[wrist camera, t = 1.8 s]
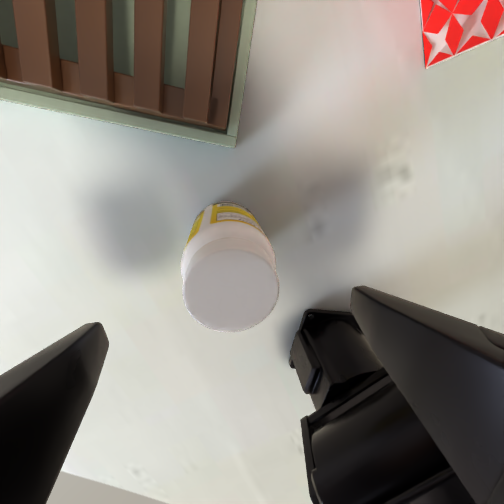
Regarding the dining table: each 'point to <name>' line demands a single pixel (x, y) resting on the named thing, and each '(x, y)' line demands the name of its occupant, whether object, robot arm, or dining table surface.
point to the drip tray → (123, 58)
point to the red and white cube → (459, 26)
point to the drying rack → (145, 58)
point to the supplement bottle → (228, 269)
